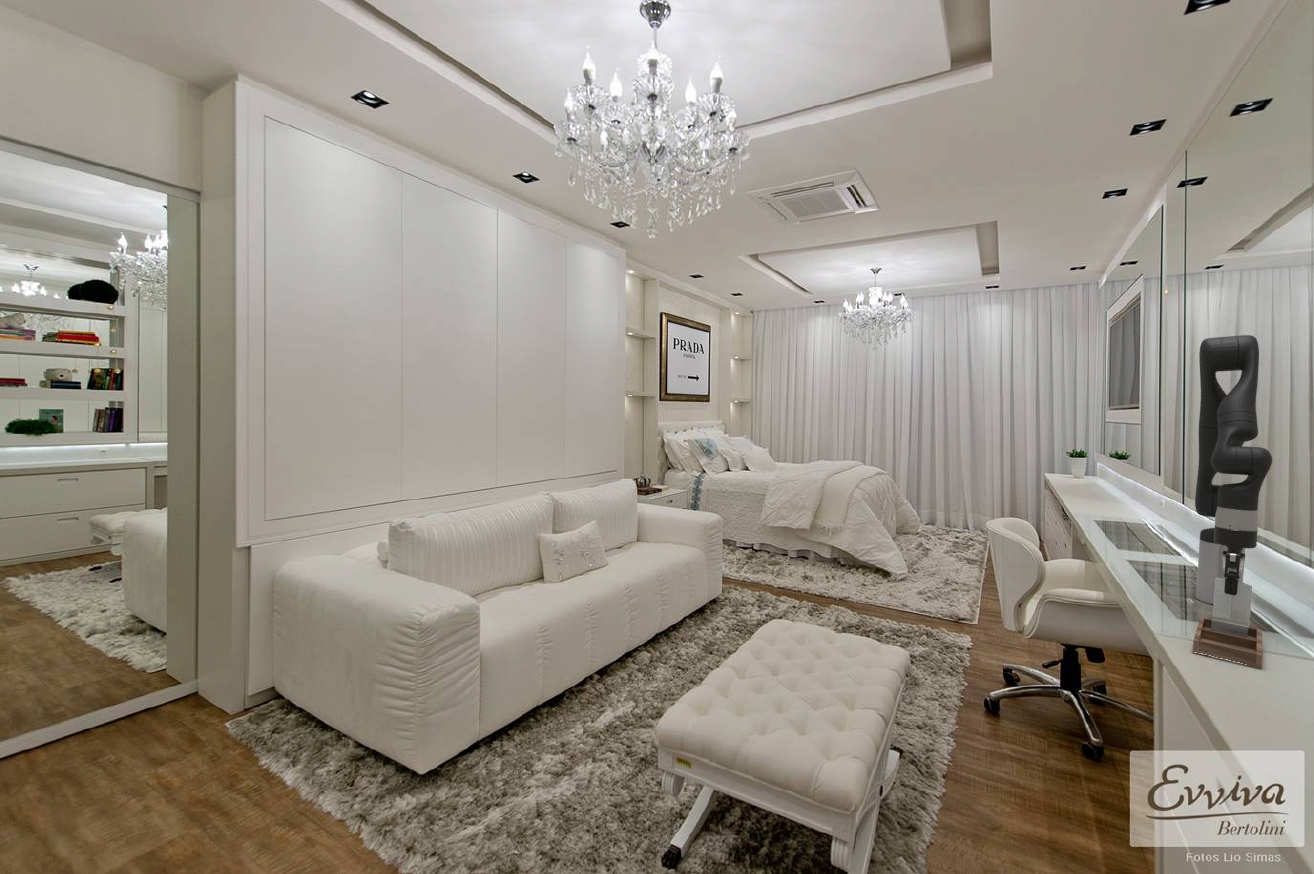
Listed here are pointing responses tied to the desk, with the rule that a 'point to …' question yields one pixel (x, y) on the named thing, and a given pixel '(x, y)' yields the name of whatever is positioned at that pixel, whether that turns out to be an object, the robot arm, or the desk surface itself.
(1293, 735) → the desk surface
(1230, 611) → the skincare box
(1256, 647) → the wooden divided tray
